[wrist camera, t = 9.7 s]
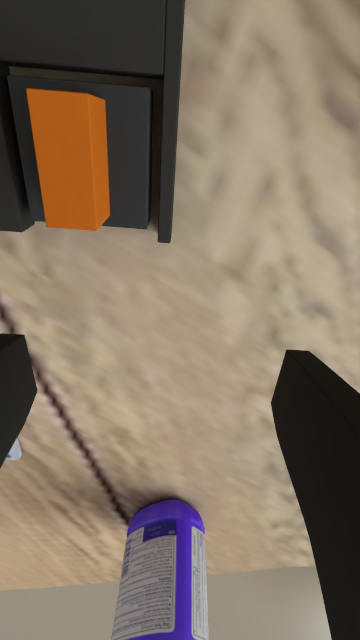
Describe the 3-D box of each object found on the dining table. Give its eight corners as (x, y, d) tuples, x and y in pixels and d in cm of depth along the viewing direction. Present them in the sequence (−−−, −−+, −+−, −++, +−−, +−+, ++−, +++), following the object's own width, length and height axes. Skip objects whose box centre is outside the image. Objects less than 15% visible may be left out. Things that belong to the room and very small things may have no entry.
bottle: (157, 537, 33) (133, 878, 18) (118, 514, 31) (53, 881, 16) (213, 514, 30) (241, 887, 15) (175, 486, 28) (164, 892, 13)
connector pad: (43, 213, 16) (4, 236, 13) (23, 80, 13) (-34, 62, 10) (150, 221, 16) (141, 246, 13) (153, 91, 13) (141, 78, 10)
